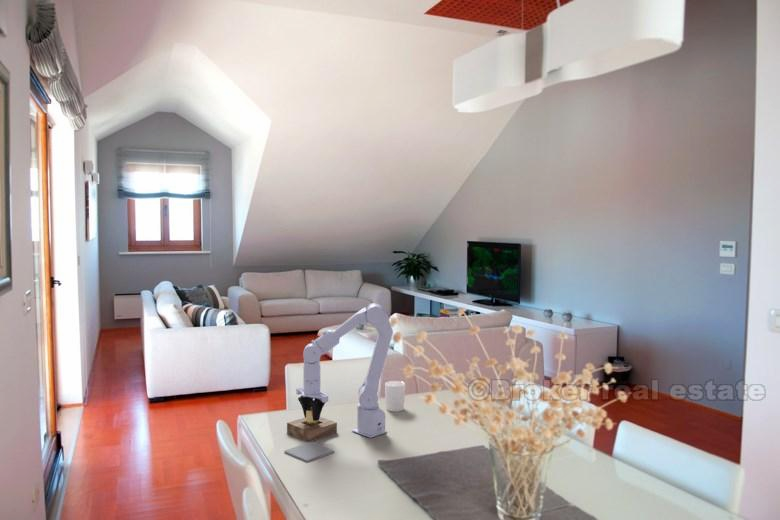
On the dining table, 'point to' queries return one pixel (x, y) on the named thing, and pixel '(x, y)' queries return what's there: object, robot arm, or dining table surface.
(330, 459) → the dining table surface
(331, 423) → the block
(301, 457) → the pad
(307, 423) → the brass cylinder
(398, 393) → the white cup
